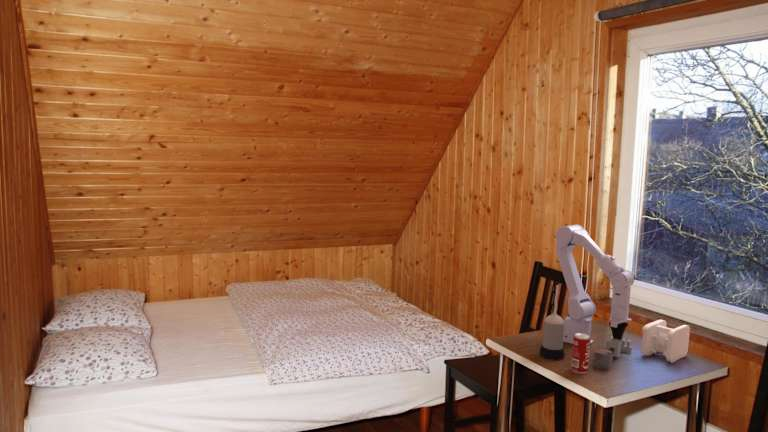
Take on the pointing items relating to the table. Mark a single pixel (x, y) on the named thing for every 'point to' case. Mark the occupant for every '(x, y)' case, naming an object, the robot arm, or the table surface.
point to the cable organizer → (665, 340)
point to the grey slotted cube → (614, 346)
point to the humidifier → (553, 335)
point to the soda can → (580, 353)
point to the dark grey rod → (609, 350)
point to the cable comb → (625, 346)
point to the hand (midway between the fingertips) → (617, 342)
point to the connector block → (603, 359)
